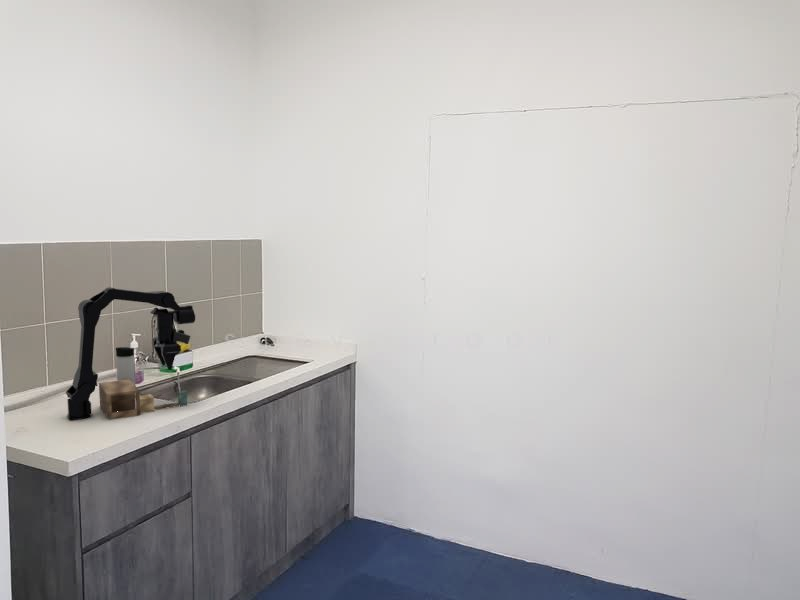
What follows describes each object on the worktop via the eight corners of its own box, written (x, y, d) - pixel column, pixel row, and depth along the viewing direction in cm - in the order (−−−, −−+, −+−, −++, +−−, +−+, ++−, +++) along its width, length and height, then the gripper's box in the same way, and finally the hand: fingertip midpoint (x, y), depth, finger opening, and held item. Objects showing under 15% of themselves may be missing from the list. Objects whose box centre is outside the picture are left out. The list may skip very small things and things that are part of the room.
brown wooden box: (108, 419, 211) (107, 394, 210) (100, 406, 226) (98, 382, 225) (140, 414, 217) (139, 390, 216) (130, 402, 232) (129, 379, 230)
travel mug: (113, 399, 235) (111, 347, 233) (128, 395, 241) (126, 344, 239) (124, 402, 232) (122, 348, 230) (139, 397, 238) (137, 346, 236)
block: (139, 413, 219) (138, 399, 218) (136, 409, 223) (135, 396, 222) (188, 406, 228) (187, 392, 227) (184, 402, 232) (184, 389, 232)
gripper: (194, 327, 227) (196, 369, 228) (181, 320, 242) (182, 360, 244) (162, 330, 220) (164, 373, 222) (150, 322, 236) (152, 363, 238)
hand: (166, 367), depth 232 cm, fingers open, 9 cm apart
